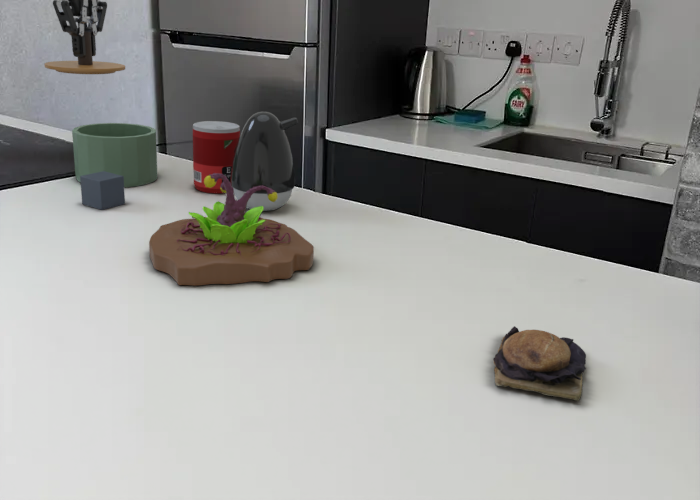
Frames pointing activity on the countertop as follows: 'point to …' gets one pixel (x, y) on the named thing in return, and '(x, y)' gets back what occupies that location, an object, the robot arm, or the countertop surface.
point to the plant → (229, 243)
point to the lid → (85, 63)
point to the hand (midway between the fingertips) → (84, 55)
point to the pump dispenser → (264, 161)
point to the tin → (116, 151)
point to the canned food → (213, 152)
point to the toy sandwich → (540, 363)
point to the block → (102, 190)
